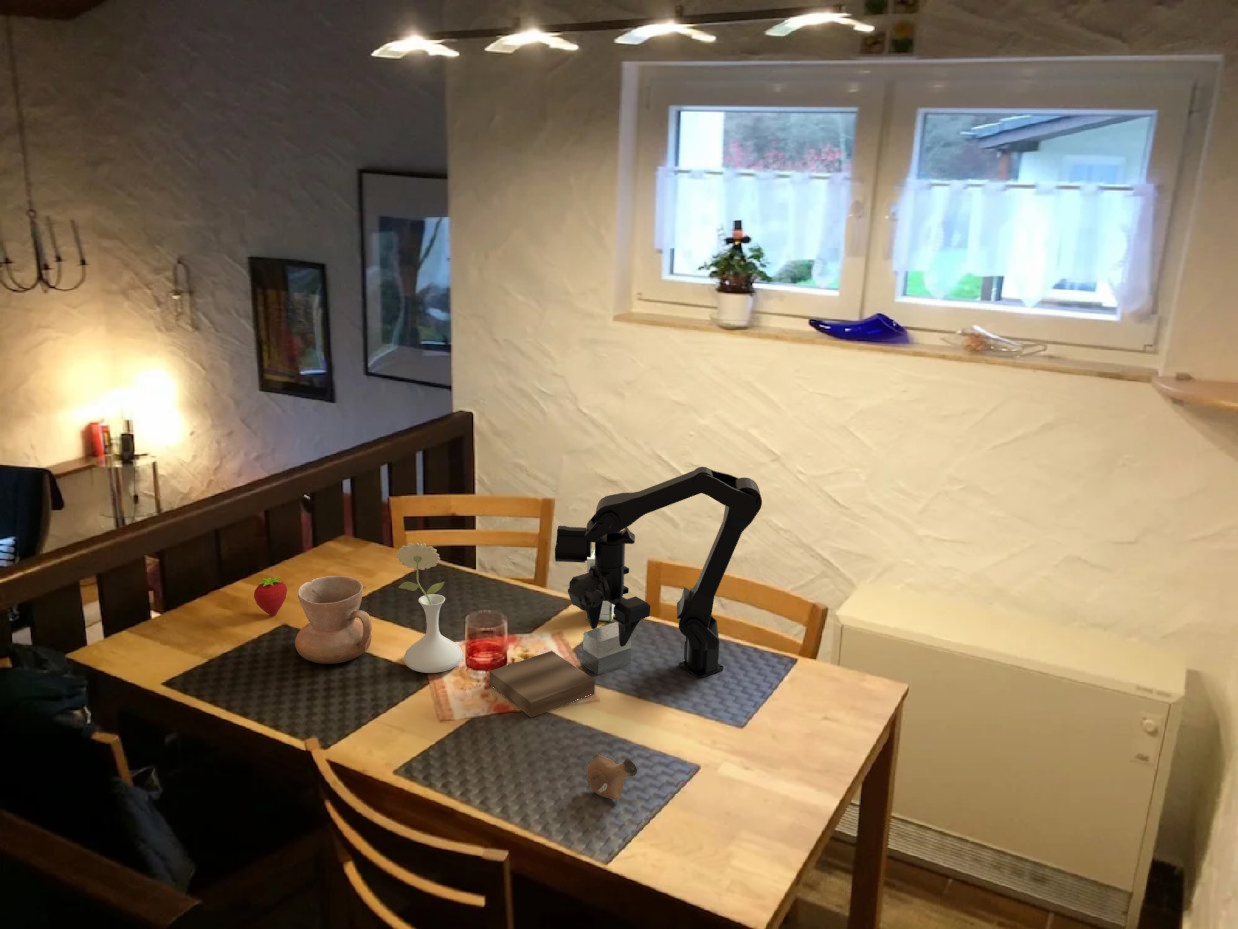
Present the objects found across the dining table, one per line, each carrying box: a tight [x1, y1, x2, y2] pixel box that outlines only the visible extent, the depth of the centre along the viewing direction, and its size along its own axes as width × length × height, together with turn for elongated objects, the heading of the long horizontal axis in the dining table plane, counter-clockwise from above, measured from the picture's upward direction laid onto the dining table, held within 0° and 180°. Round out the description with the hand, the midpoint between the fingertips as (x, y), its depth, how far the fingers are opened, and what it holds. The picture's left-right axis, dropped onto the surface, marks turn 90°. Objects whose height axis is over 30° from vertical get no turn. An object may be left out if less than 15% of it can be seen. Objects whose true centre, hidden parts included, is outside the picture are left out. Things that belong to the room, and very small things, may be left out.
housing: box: [582, 621, 633, 676], centre depth 200 cm, size 8×5×7 cm, turn 128°
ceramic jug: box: [294, 575, 373, 665], centre depth 200 cm, size 18×14×14 cm
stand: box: [489, 650, 596, 718], centre depth 191 cm, size 14×14×3 cm
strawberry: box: [253, 576, 288, 617], centre depth 217 cm, size 6×8×10 cm
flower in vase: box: [395, 542, 464, 674], centre depth 196 cm, size 13×11×25 cm
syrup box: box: [585, 548, 615, 622], centre depth 220 cm, size 6×6×14 cm
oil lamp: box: [586, 752, 638, 801], centre depth 159 cm, size 9×4×8 cm, turn 58°
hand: (608, 637), depth 200 cm, fingers open, 9 cm apart
